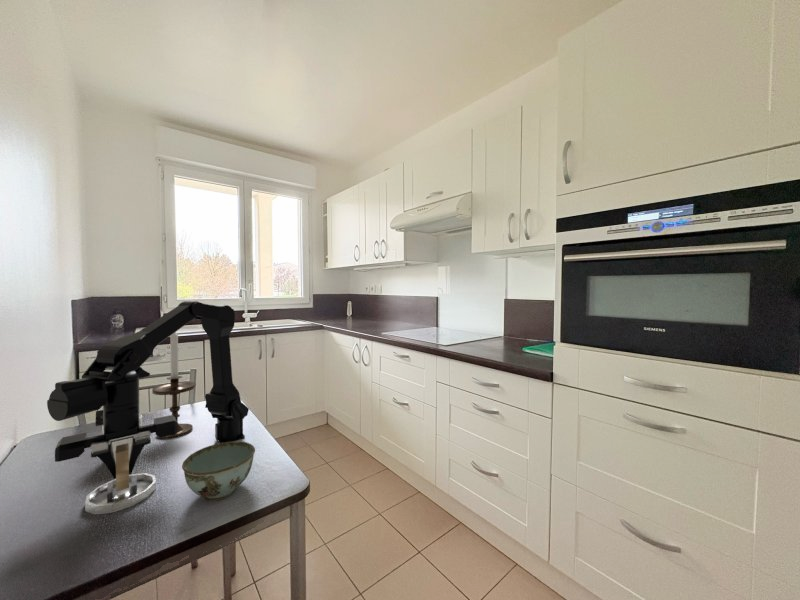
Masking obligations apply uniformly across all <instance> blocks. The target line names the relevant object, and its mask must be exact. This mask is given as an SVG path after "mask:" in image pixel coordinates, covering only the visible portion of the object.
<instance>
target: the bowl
mask: <svg viewBox="0 0 800 600" xmlns="http://www.w3.org/2000/svg"><path fill="white" fill-rule="evenodd" d="M255 452H256V448H255V447H254V445H252V444H251V443H249V442H247V441H237V440H234V441H230V442H225V443H219V442H218V443H215V444H212V445H209V446H206V447H203V448H200V449H199V450H196V451H194V452H193V453H191V454H189V456H187V458H185V459H184V460H183V462H182V464H181V468H182V470H183V473H184V479H185V482H186V485H187V487H188V488H189V489H190V491H192V493H194V494H196V495H198V496H200V497H204V499H205V500H206V501H211V502H213V501H220V500H223V499H226V498H228V497H230V496H231V495H232V494H233V493H234V492H235V491H237V488H238V487H240V485H241V484H243V483H244V481H245V480H246V478H247V477H248V476H249V473H250V472H251V469H252V466H253V462H254V455H255Z"/></svg>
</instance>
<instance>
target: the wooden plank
mask: <svg viewBox="0 0 800 600" xmlns="http://www.w3.org/2000/svg"><path fill="white" fill-rule="evenodd" d="M129 475H130V474H129V443H126V444H122V445H118V446H116V478H115V479H116V492H117V491H120V490H123V489H127V488H129Z"/></svg>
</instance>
